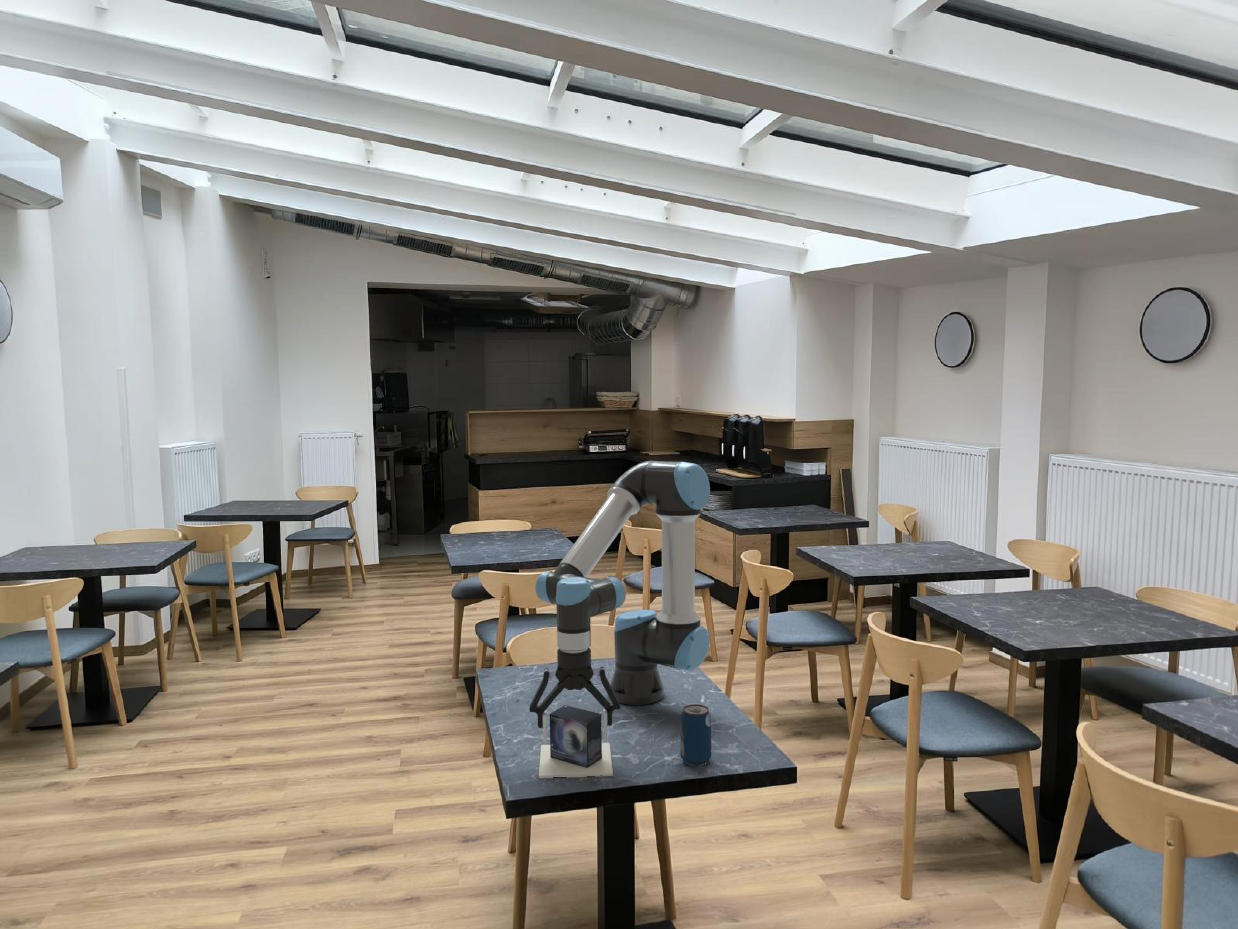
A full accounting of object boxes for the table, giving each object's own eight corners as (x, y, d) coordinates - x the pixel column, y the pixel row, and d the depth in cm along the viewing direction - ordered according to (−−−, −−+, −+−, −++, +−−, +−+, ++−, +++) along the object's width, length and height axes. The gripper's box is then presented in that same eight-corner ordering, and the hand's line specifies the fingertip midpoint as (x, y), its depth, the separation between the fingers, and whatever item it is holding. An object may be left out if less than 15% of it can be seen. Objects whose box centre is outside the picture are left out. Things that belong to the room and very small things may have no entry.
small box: (548, 758, 189) (547, 713, 188) (565, 748, 194) (564, 704, 194) (586, 769, 183) (586, 722, 182) (603, 758, 189) (602, 713, 188)
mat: (609, 745, 197) (609, 742, 197) (612, 775, 181) (612, 773, 181) (541, 747, 196) (541, 745, 196) (538, 778, 180) (538, 775, 180)
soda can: (717, 760, 188) (717, 708, 187) (697, 770, 184) (697, 717, 183) (693, 751, 193) (693, 701, 192) (674, 761, 188) (673, 709, 187)
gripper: (628, 641, 191) (629, 731, 193) (518, 644, 190) (520, 735, 191) (631, 651, 184) (631, 745, 185) (516, 654, 182) (518, 749, 184)
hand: (575, 740), depth 188 cm, fingers open, 13 cm apart
